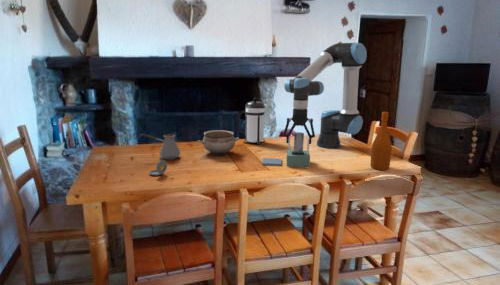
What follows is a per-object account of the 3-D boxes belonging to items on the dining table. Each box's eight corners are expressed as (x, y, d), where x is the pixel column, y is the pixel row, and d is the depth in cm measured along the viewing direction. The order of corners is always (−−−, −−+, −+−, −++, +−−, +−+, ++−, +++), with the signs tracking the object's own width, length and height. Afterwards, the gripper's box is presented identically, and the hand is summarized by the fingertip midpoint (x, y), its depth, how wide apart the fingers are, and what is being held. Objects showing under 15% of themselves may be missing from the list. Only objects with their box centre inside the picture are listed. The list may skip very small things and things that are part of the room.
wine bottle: (390, 171, 187) (397, 113, 180) (370, 170, 189) (376, 112, 182) (387, 165, 196) (393, 110, 189) (368, 164, 198) (374, 109, 191)
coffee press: (260, 139, 253) (261, 96, 246) (268, 144, 238) (270, 98, 231) (236, 140, 248) (236, 96, 241) (243, 146, 233) (244, 99, 226)
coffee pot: (178, 154, 213) (178, 129, 209) (182, 159, 202) (181, 133, 199) (140, 157, 206) (139, 131, 202) (142, 162, 195) (140, 135, 192)
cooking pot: (201, 159, 203) (201, 138, 200) (194, 151, 220) (194, 131, 217) (244, 155, 211) (244, 135, 208) (234, 148, 229) (234, 129, 226)
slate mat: (281, 160, 203) (281, 158, 203) (280, 165, 194) (280, 164, 193) (263, 159, 204) (263, 158, 204) (262, 164, 195) (262, 163, 194)
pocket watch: (151, 171, 181) (149, 152, 178) (168, 171, 182) (167, 152, 179) (147, 177, 173) (146, 157, 171) (165, 177, 174) (164, 157, 171)
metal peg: (302, 162, 200) (303, 132, 196) (302, 165, 195) (304, 134, 191) (293, 162, 200) (294, 132, 196) (293, 165, 196) (294, 134, 191)
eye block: (308, 161, 203) (308, 150, 201) (309, 167, 191) (310, 156, 190) (286, 160, 204) (287, 149, 203) (286, 166, 192) (286, 155, 191)
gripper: (279, 108, 188) (277, 150, 193) (322, 109, 186) (319, 152, 191) (279, 106, 195) (278, 146, 200) (321, 107, 193) (318, 148, 198)
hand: (298, 149), depth 196 cm, fingers open, 9 cm apart
